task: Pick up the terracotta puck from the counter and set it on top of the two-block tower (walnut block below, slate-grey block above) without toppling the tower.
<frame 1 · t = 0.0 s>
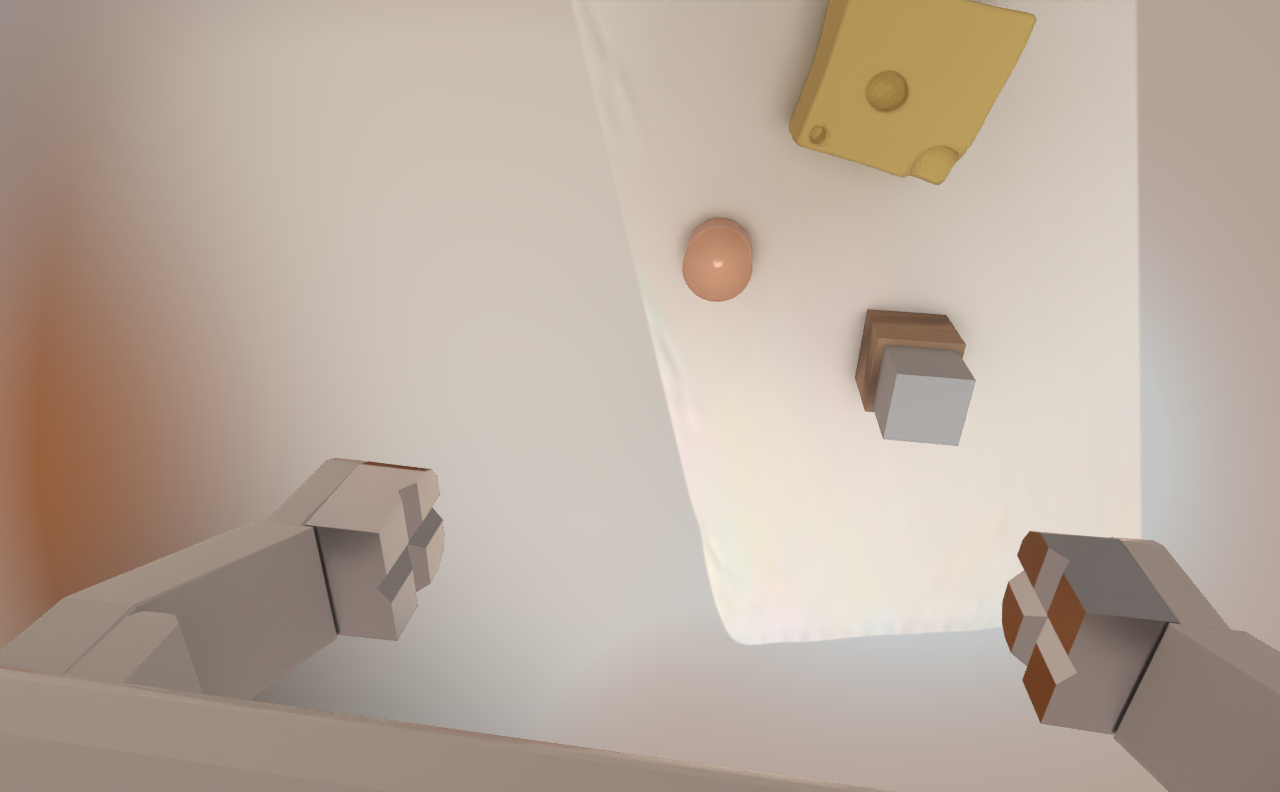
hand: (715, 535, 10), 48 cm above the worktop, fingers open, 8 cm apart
terracotta puck: (719, 249, 57), on the worktop
grey block: (913, 378, 53), point 6 cm above the worktop, touching walnut block
cheese: (879, 74, 50), on the worktop
walnut block: (899, 347, 59), on the worktop, touching grey block
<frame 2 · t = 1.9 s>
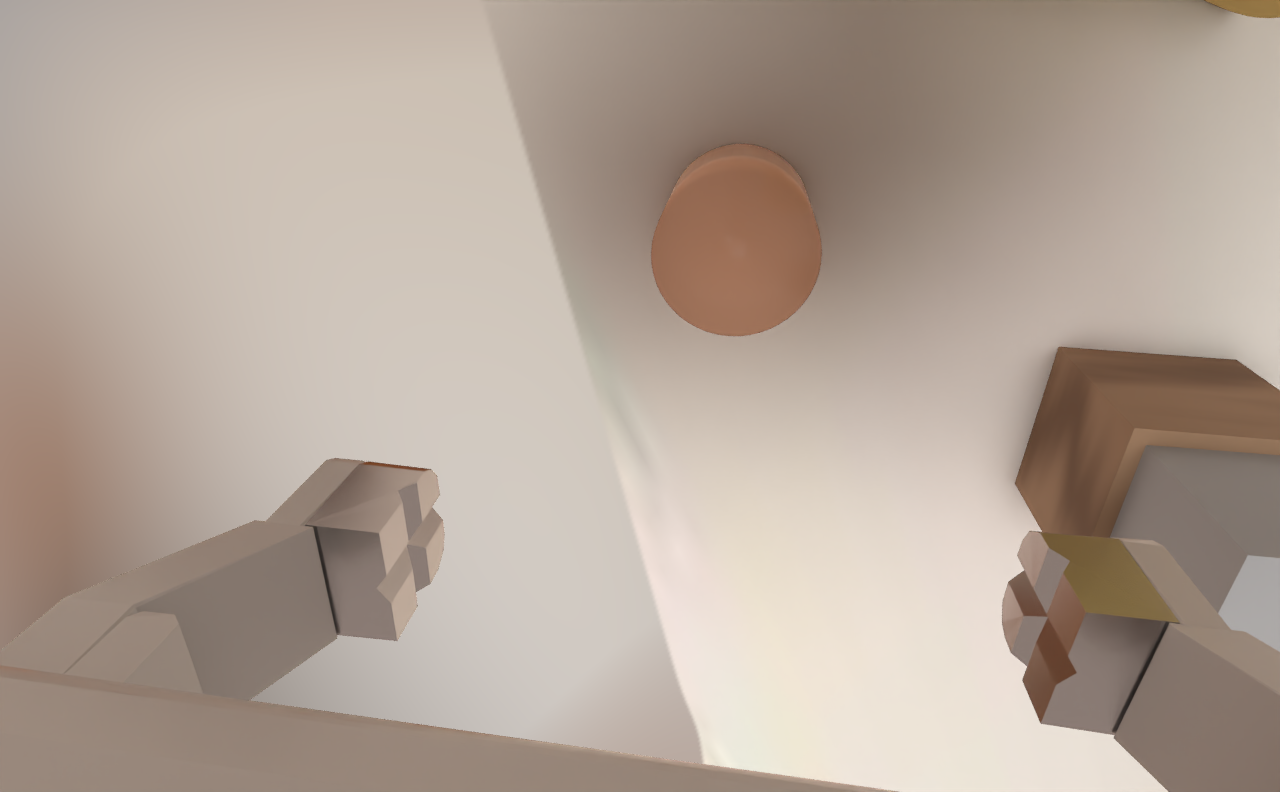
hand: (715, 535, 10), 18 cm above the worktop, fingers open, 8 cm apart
terracotta puck: (737, 217, 26), on the worktop
grey block: (1205, 521, 22), point 6 cm above the worktop, touching walnut block
walnut block: (1118, 425, 28), on the worktop, touching grey block
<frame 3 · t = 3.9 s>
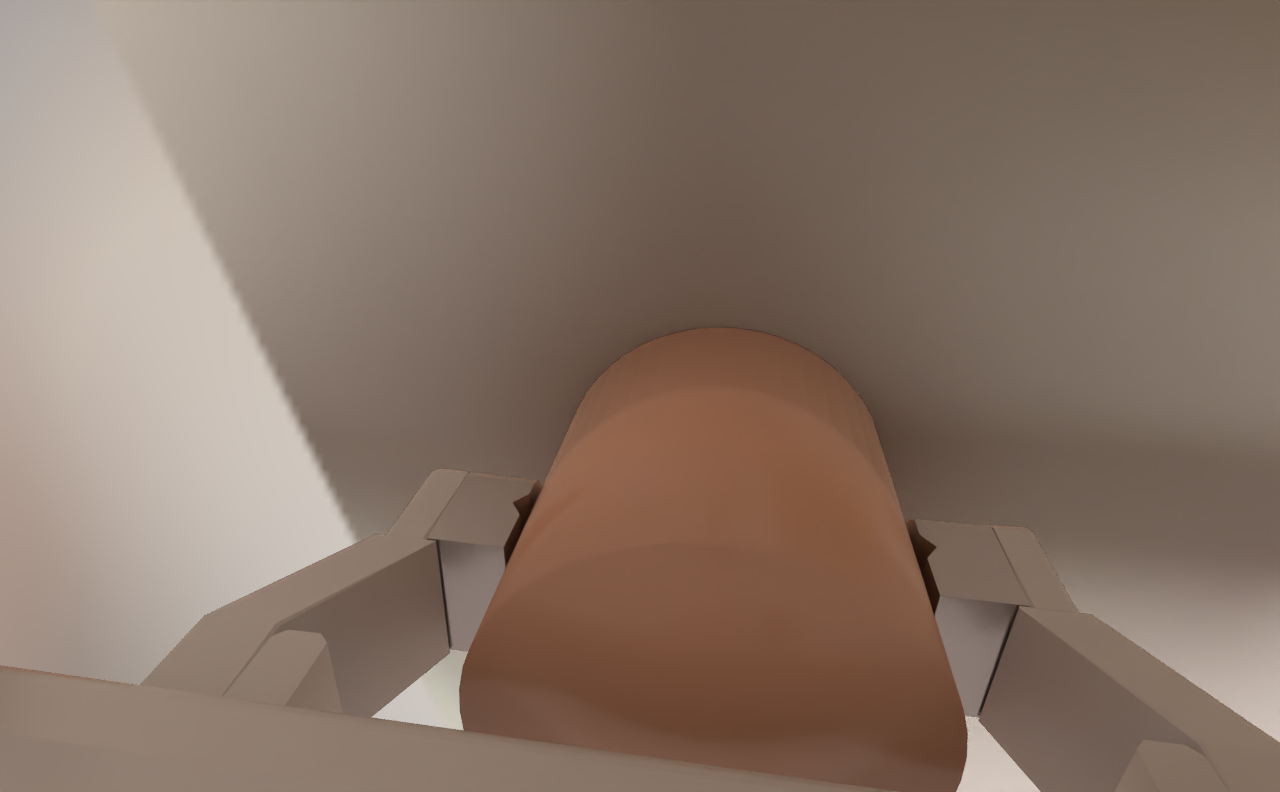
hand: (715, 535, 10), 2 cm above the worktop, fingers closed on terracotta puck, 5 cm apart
terracotta puck: (719, 472, 12), on the worktop, touching gripper
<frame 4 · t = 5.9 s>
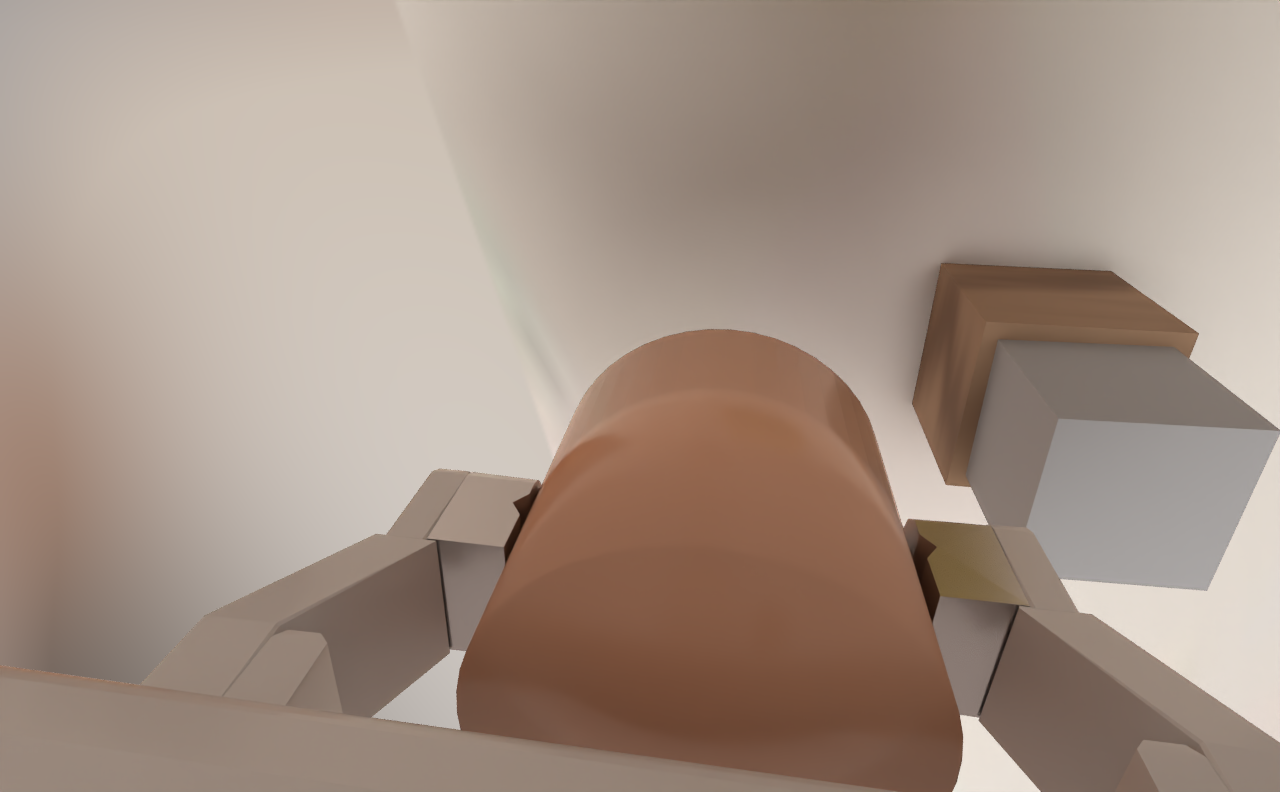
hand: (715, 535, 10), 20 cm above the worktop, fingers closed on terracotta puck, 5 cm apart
terracotta puck: (717, 474, 12), point 18 cm above the worktop, touching gripper
grey block: (1063, 415, 23), point 6 cm above the worktop, touching walnut block
walnut block: (1005, 340, 28), on the worktop, touching grey block
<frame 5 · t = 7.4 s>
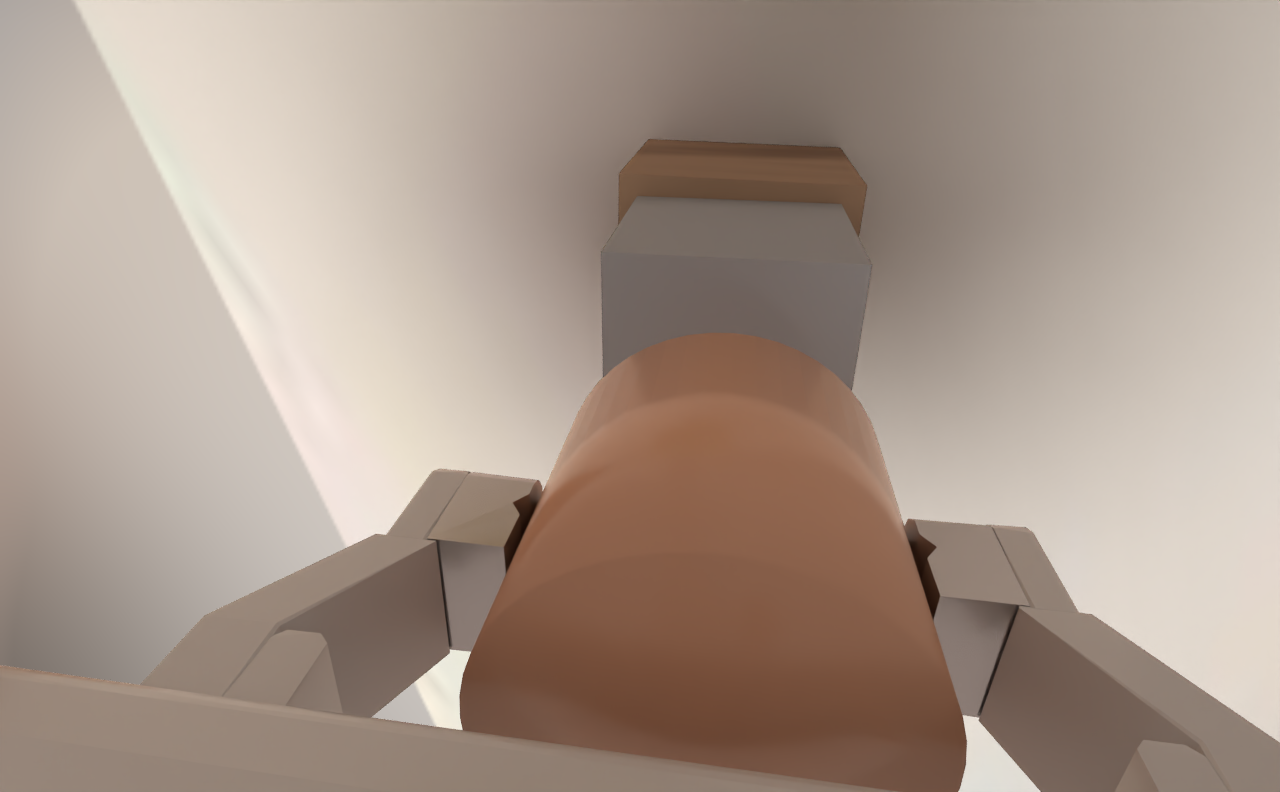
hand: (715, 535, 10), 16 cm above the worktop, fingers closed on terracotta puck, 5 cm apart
terracotta puck: (719, 477, 12), point 14 cm above the worktop, touching gripper
grey block: (730, 296, 19), point 6 cm above the worktop
walnut block: (735, 236, 24), on the worktop
when the fingers open (14 cm above the worktop, at t = 8.3 s): terracotta puck drops 1 cm, resting on grey block.
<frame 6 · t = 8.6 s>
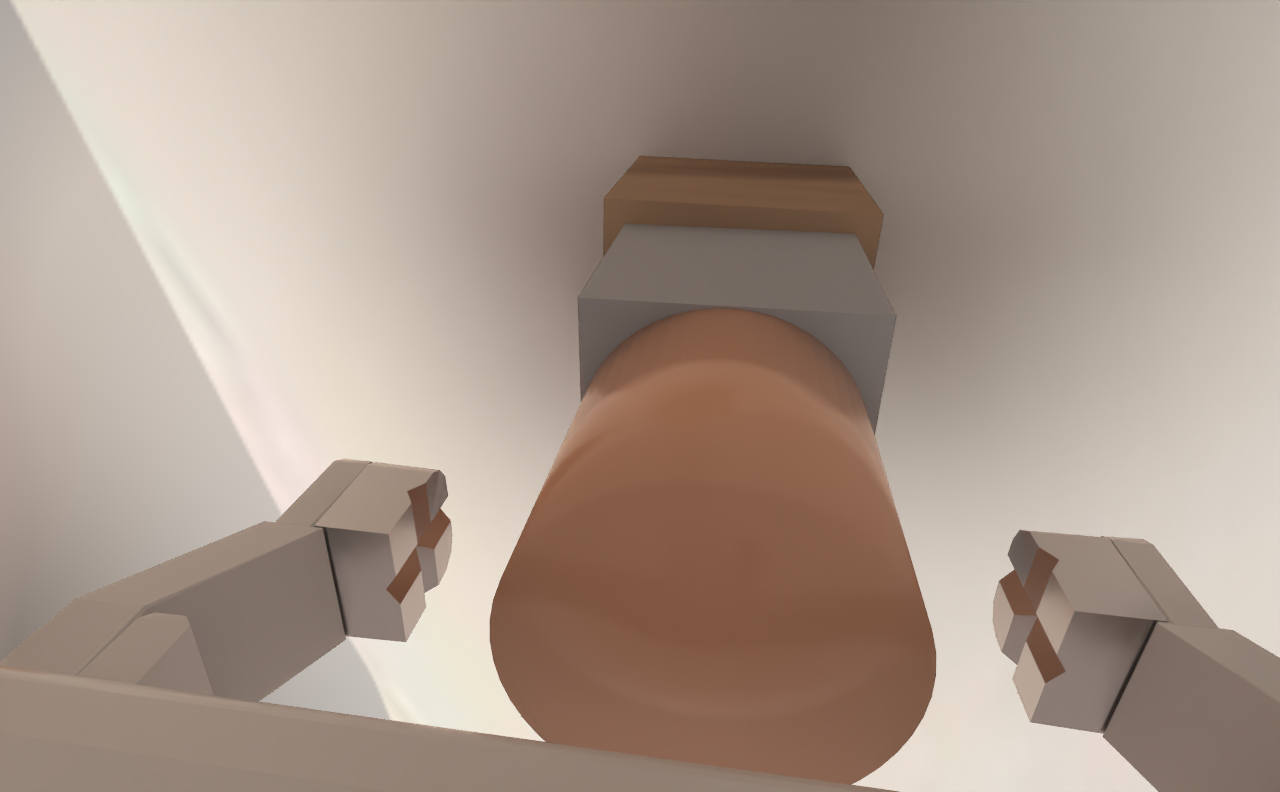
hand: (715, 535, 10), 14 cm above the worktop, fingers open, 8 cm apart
terracotta puck: (720, 443, 13), point 11 cm above the worktop, touching grey block
grey block: (730, 334, 17), point 6 cm above the worktop, touching terracotta puck, walnut block
walnut block: (734, 262, 22), on the worktop, touching grey block
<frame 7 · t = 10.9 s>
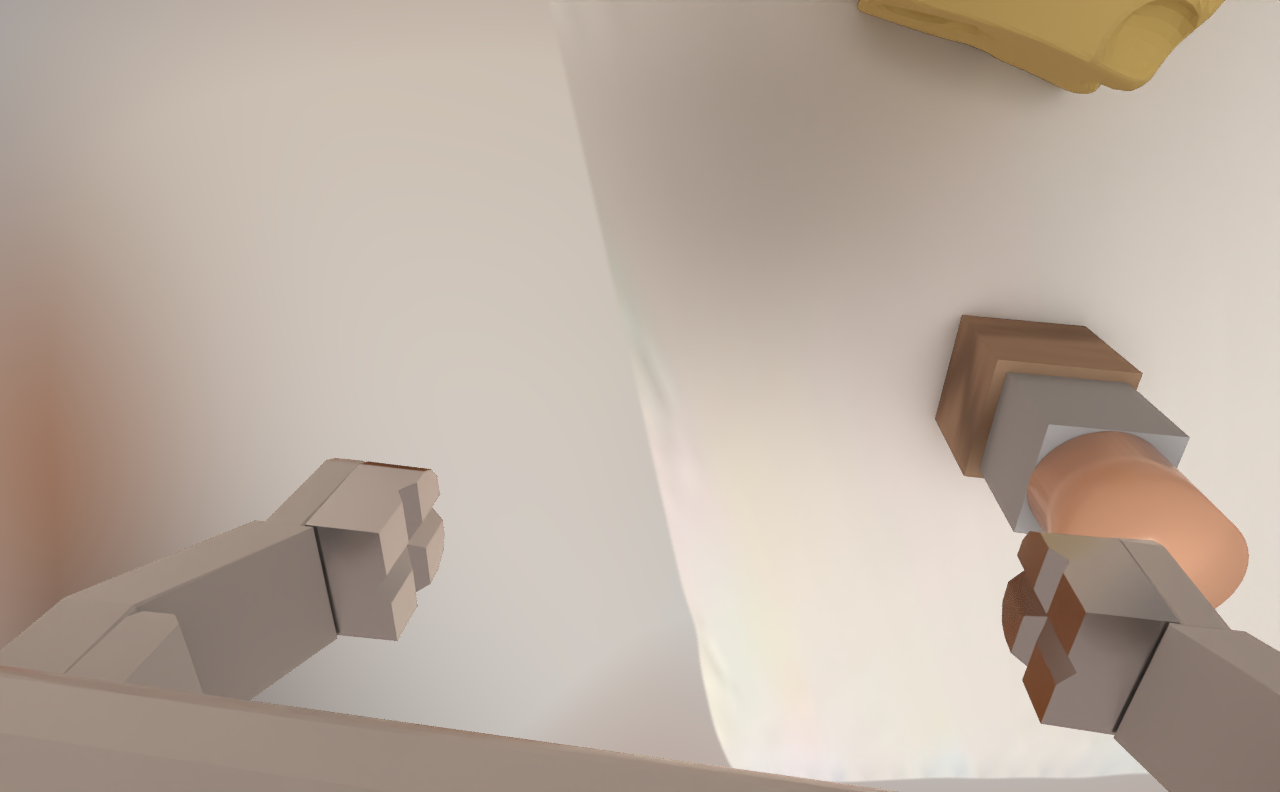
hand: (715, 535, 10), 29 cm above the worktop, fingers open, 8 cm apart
terracotta puck: (1096, 487, 28), point 11 cm above the worktop, touching grey block
grey block: (1050, 427, 33), point 6 cm above the worktop, touching terracotta puck, walnut block
walnut block: (1006, 374, 38), on the worktop, touching grey block
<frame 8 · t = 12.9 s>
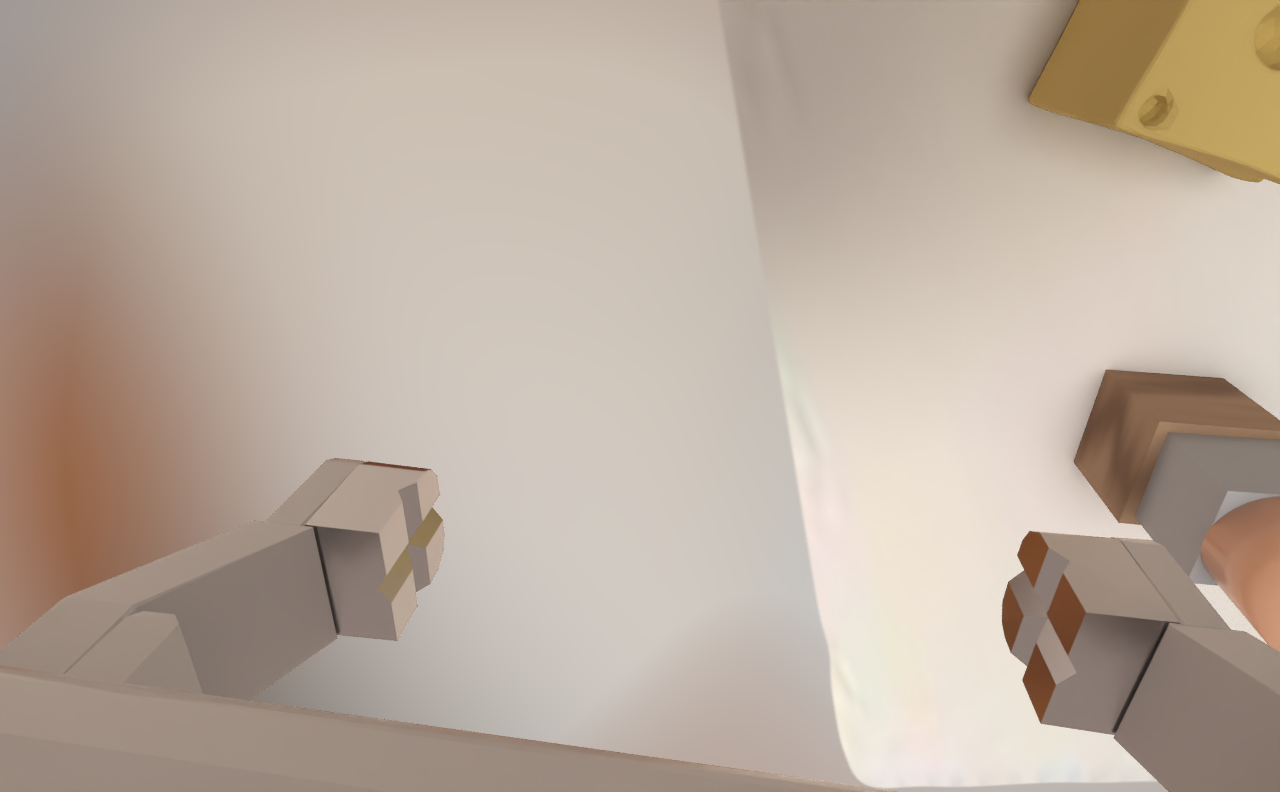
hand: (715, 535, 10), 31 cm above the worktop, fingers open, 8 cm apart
terracotta puck: (1266, 543, 31), point 11 cm above the worktop, touching grey block
grey block: (1205, 479, 36), point 6 cm above the worktop, touching terracotta puck, walnut block
cheese: (1178, 21, 33), on the worktop
walnut block: (1144, 421, 41), on the worktop, touching grey block
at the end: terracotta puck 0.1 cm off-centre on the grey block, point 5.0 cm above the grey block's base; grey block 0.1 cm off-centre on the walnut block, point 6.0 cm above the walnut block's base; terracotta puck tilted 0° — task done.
